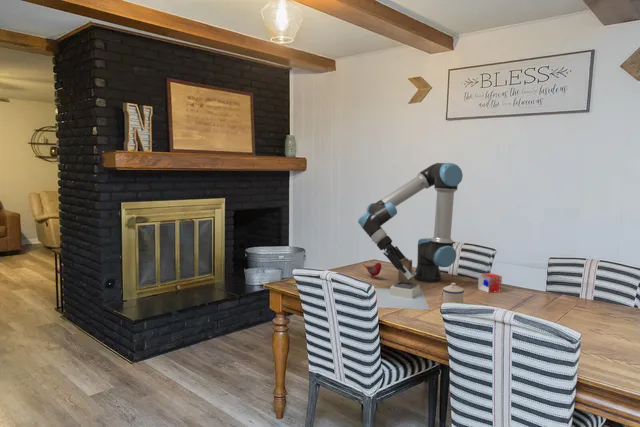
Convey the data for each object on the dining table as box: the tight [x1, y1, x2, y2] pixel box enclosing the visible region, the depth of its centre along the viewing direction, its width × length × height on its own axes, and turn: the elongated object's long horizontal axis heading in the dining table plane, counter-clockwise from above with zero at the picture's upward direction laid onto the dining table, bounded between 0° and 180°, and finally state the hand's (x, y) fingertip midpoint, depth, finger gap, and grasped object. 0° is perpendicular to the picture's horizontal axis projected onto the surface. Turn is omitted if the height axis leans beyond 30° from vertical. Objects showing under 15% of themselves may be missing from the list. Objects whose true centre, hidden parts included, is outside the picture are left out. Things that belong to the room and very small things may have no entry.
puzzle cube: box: [477, 272, 503, 293], centre depth 240 cm, size 8×8×8 cm
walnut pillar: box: [397, 257, 413, 282], centre depth 228 cm, size 5×5×11 cm
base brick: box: [389, 281, 421, 299], centre depth 229 cm, size 11×11×5 cm
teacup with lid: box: [441, 282, 465, 304], centre depth 210 cm, size 12×9×12 cm
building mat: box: [374, 287, 430, 312], centre depth 222 cm, size 24×32×1 cm
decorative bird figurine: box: [362, 262, 383, 280], centre depth 264 cm, size 3×18×10 cm, turn 30°
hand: (412, 276), depth 226 cm, fingers closed on walnut pillar, 5 cm apart
